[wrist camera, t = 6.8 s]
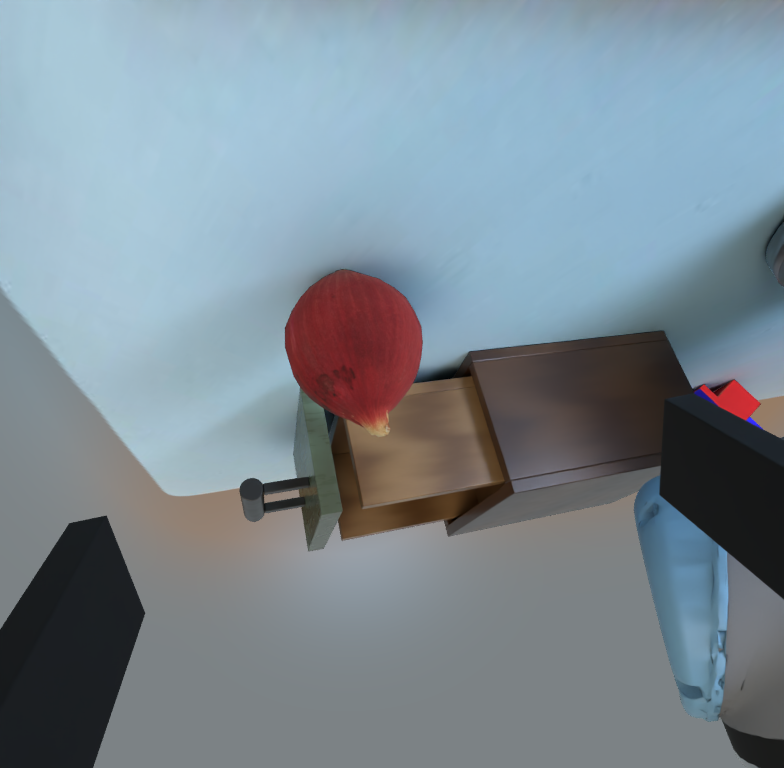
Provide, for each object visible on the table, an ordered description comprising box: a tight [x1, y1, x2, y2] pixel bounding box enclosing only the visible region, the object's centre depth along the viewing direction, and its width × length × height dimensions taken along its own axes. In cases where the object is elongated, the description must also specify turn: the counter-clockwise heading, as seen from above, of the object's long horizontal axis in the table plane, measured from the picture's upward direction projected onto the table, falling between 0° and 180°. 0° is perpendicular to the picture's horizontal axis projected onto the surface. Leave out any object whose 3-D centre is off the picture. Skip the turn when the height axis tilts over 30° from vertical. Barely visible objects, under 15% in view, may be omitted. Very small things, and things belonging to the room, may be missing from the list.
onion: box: [285, 269, 423, 437], centre depth 23 cm, size 6×6×8 cm
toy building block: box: [693, 380, 762, 429], centre depth 56 cm, size 4×4×8 cm
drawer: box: [240, 376, 506, 551], centre depth 38 cm, size 19×12×8 cm, turn 79°
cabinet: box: [444, 331, 694, 536], centre depth 42 cm, size 16×14×10 cm
